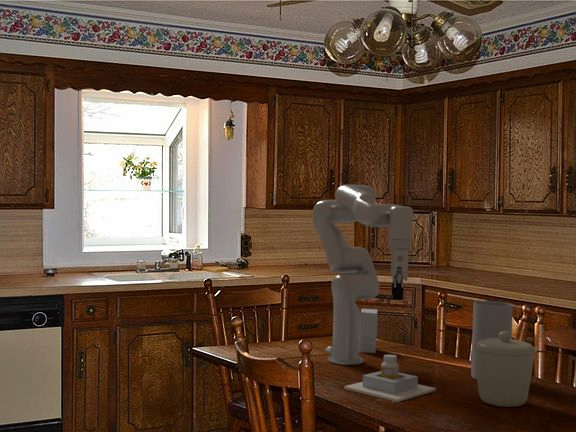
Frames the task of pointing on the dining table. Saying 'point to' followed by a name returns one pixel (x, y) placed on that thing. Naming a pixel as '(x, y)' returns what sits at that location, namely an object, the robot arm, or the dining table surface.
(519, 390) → the canister
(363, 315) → the skincare box
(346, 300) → the robot arm
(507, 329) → the cylinder vase
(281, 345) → the dining table surface
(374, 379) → the socket holder
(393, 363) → the supplement bottle
